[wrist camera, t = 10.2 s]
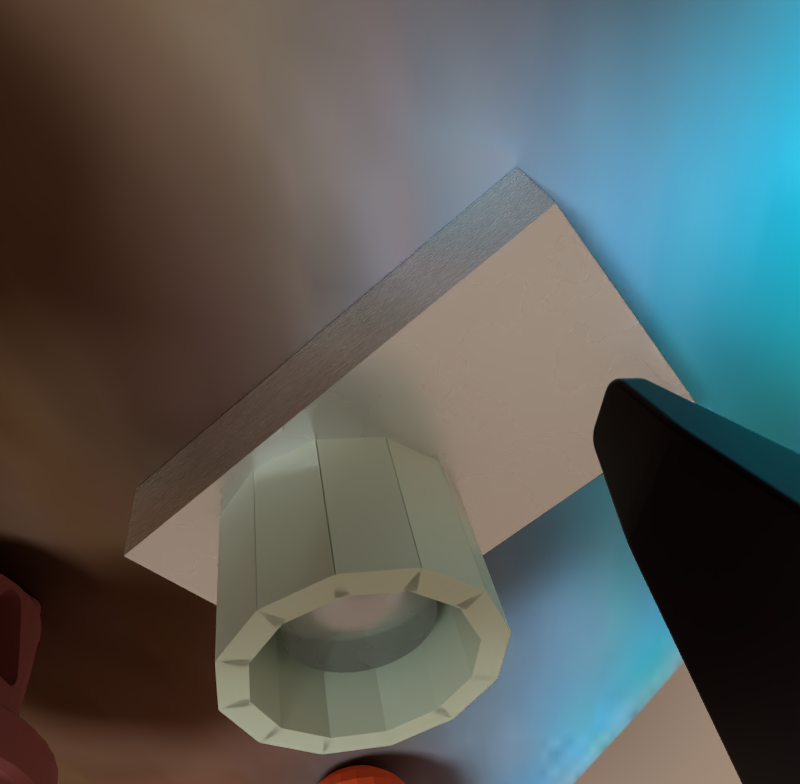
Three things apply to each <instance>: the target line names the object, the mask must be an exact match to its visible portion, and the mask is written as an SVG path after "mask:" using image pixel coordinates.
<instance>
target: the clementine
mask: <svg viewBox="0 0 800 784" xmlns="http://www.w3.org/2000/svg"><path fill="white" fill-rule="evenodd" d="M318 784H406V783H405V782H403V781H402V780H401V779H400V778H399V777H397V776H396V775H395V774H393V773H391V772H389V771H387V770H383V769H380V768H377V767H374V766H370V765H357V766H350V767H346V768H342V769H340V770H337V771H335V772H333V773H331V774H330V775H328V776H327V777H326V778H324V779H323V780H322V781H321V782H320V783H318Z"/></svg>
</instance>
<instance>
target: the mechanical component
mask: <svg viewBox="0 0 800 784" xmlns="http://www.w3.org/2000/svg"><path fill="white" fill-rule="evenodd" d="M40 613H41V605H40V604H39V602H38V601H37V600H36V599H35V598H33V597H32V596H30V595H28V594H26V593H25V592H24V591H23V590H22V589H21V588H20V587H19V586H18V585H17V584H15V583H14V582H12V581H11V580H10V579H8V578H7V577H5V576H4V575H2V574H0V784H57V782H58V768H57V765H56V761H55V757H54V755H53V753H52V751H51V750H50V748H49V746H48V744H47V743H46V741H45V740H44V739H43V738H42V737H41V736H40V735H39V734H38V733H37V732H36V731H35V729H34V728H32V727H31V726H30V725H29V724H28V723H27V722H26V721H24V720H23V719H22V718H21V717H19V714H20V710H21V706H22V703H23V699H24V696H25V692H26V689H27V685H28V681H29V678H30V674H31V670H32V666H33V662H34V657H35V653H36V650H37V648H38V645H39V641H40V636H41V630H42V627H41V618H40Z"/></svg>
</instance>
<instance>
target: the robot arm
mask: <svg viewBox="0 0 800 784" xmlns="http://www.w3.org/2000/svg"><path fill="white" fill-rule="evenodd" d="M593 444H594V448H595V452H596V454H597V457H598V460H599V463H600V466H601V469H602V472H603V475H604V477H605V480H606V483H607V486H608V489H609V492H610V495H611V498H612V500H613V503H614V506H615V509H616V512H617V515H618V518H619V520H620V523H621V526H622V529H623V532H624V534H625V537H626V539H627V542H628V544H629V547H630V549H631V551H632V553H633V556H634V558H635V560H636V562H637V564H638V567H639V569H640V571H641V573H642V575H643V577H644V579H645V581H646V583H647V585H648V587H649V590H650V592H651V594H652V596H653V598H654V600H655V602H656V604H657V606H658V608H659V611H660V613H661V615H662V617H663V619H664V621H665V623H666V625H667V627H668V629H669V631H670V634H671V636H672V638H673V640H674V642H675V644H676V646H677V648H678V650H679V652H680V654H681V657H682V659H683V661H684V663H685V665H686V667H687V669H688V671H689V673H690V675H691V678H692V679H693V682H694V684H695V686H696V688H697V690H698V692H699V694H700V696H701V698H702V701H703V703H704V705H705V707H706V709H707V711H708V713H709V715H710V717H711V719H712V721H713V724H714V726H715V728H716V730H717V732H718V734H719V736H720V738H721V740H722V742H723V744H724V747H725V749H726V751H727V753H728V755H729V757H730V759H731V761H732V763H733V765H734V767H735V770H736V771H737V774H738V776H739V778H740V780H741V782H742V784H800V454H798V453H796V452H794V451H792V450H790V449H788V448H786V447H783V446H781V445H779V444H777V443H775V442H773V441H771V440H769V439H767V438H765V437H763V436H761V435H759V434H757V433H755V432H753V431H751V430H749V429H747V428H745V427H743V426H741V425H738V424H736V423H734V422H732V421H730V420H728V419H726V418H724V417H722V416H720V415H718V414H716V413H714V412H712V411H710V410H708V409H706V408H704V407H702V406H700V405H698V404H696V403H693V402H691V401H689V400H687V399H685V398H683V397H681V396H679V395H677V394H675V393H673V392H671V391H669V390H667V389H665V388H663V387H661V386H659V385H657V384H655V383H653V382H651V381H648V380H646V379H643V378H618V379H614V380H613V381H611V382H610V383H609V385H608V386H607V389H606V391H605V395H604V398H603V401H602V404H601V407H600V410H599V414H598V417H597V420H596V423H595V426H594V431H593Z"/></svg>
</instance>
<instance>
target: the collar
mask: <svg viewBox="0 0 800 784" xmlns="http://www.w3.org/2000/svg"><path fill="white" fill-rule="evenodd" d="M406 591H410V592H413V593H416V594H419V595H422V596H425V597H428V598H431V599H434V600H436V603H437V610H438V611H437V619H436V622H435V625H434V627H433V629H432V631H431V632H430V634H429V635H428V637H427V638H426V639H425V640H424V641H423V642H422V643H421V644H420V645H419V646H418V647H417V648H416V649H414V650H413V651H411V652H410V653H409V654H407V655H405V656H404V657H402V658H400V659H398V660H396V661H394V662H392V663H389V664H387V665H384V666H381V667H378V668H374V669H370V670H366V671H359V672H348V673H337V672H327V671H322V670H318V669H314V668H311V667H309V666H307V665H304V664H302V663H301V662H299V661H297V660H296V659H295V658H294V657H292V656H291V655H290V653H289V652H288V651H287V650H286V648H285V646H284V644H283V641H282V638H281V625H282V624H284V623H286V622H288V621H290V620H293V619H295V618H297V617H299V616H301V615H304V614H306V613H308V612H310V611H312V610H315V609H317V608H319V607H321V606H323V605H326V604H328V603H330V602H332V601H334V600H337V599H339V598H341V597H346V596H358V595H370V594H382V593H394V592H406ZM510 636H511V630H510V627H509V625H508V622H507V619H506V617H505V614H504V611H503V609H502V606H501V603H500V600H499V598H498V595H497V592H496V590H495V587H494V584H493V582H492V579H491V576H490V574H489V571H488V568H487V566H486V563H485V560H484V558H483V555H482V552H481V550H480V547H479V544H478V542H477V539H476V536H475V534H474V531H473V528H472V526H471V523H470V520H469V518H468V515H467V512H466V510H465V507H464V504H463V502H462V500H461V498H460V496H459V495H458V493H457V491H456V489H455V488H454V486H453V484H452V482H451V481H450V479H449V477H448V475H447V473H446V472H445V470H444V468H443V466H442V465H441V463H440V462H439V461H438V460H436V459H434V458H431V457H429V456H427V455H425V454H423V453H420V452H418V451H416V450H414V449H412V448H409V447H407V446H405V445H403V444H401V443H398V442H396V441H394V440H392V439H390V438H387V437H386V438H385V437H366V438H337V439H316V440H313V441H311V442H309V443H307V444H305V445H303V446H301V447H299V448H297V449H295V450H292V451H290V452H288V453H286V454H284V455H282V456H280V457H278V458H276V459H274V460H272V461H270V462H267V463H265V464H263V465H261V466H259V467H257V468H255V469H254V470H252V472H251V473H250V475H249V476H248V477H247V479H246V480H245V481H244V483H243V484H242V486H241V487H240V488H239V490H238V491H237V492H236V494H235V495H234V497H233V498H232V499H231V501H230V502H229V503H228V505H227V506H226V508H225V509H224V510H223V512H222V513H221V515H220V516H219V547H218V579H217V610H216V642H215V671H216V684H217V698H218V710H219V711H220V712H222V713H223V714H224V715H225V716H227V717H228V718H229V719H230V720H232V721H233V722H234V723H235V724H237V725H238V726H239V727H240V728H242V729H243V730H244V731H245V732H247V733H248V734H249V735H250V736H252V737H253V738H254V739H255V740H257V741H258V742H260V743H264V744H269V745H275V746H280V747H285V748H291V749H296V750H301V751H307V752H312V753H317V754H322V753H323V754H329V753H337V752H344V751H352V750H360V749H368V748H375V747H383V746H391V745H393V744H396V743H398V742H400V741H403V740H405V739H407V738H410V737H412V736H414V735H417V734H419V733H421V732H424V731H426V730H428V729H431V728H433V727H435V726H438V725H440V724H442V723H445V722H447V721H449V720H452V719H453V718H455V717H456V716H457V715H458V714H459V713H461V712H462V711H463V710H464V709H465V708H466V707H467V706H468V705H469V704H470V703H472V702H473V701H474V700H475V699H476V698H477V697H478V696H479V695H480V694H481V693H482V692H484V691H485V690H486V689H487V688H488V687H489V686H490V685H491V684H492V683H493V682H495V681H496V680H497V678H498V676H499V673H500V669H501V666H502V663H503V659H504V656H505V652H506V649H507V646H508V642H509V639H510Z"/></svg>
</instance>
